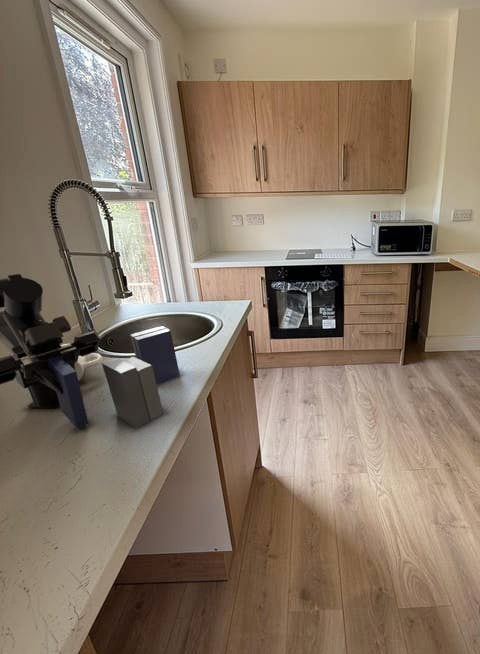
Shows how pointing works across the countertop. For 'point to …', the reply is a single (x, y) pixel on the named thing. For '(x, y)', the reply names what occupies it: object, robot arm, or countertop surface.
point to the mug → (85, 363)
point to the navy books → (157, 352)
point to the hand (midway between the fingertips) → (69, 390)
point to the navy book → (69, 392)
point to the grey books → (133, 390)
